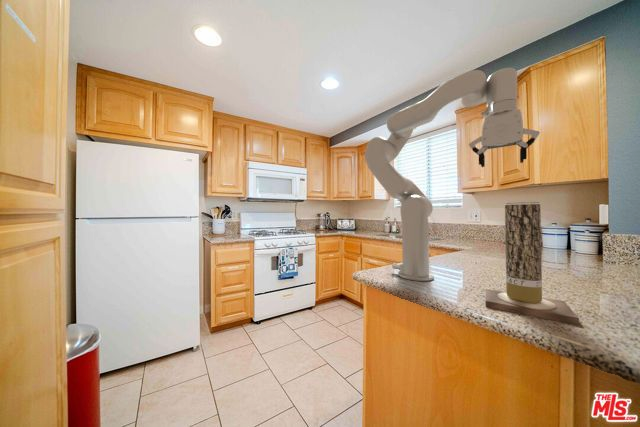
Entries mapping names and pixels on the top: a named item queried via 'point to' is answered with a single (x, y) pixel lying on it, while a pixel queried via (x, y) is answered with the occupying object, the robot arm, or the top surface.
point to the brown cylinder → (523, 251)
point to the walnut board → (532, 307)
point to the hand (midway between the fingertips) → (501, 164)
